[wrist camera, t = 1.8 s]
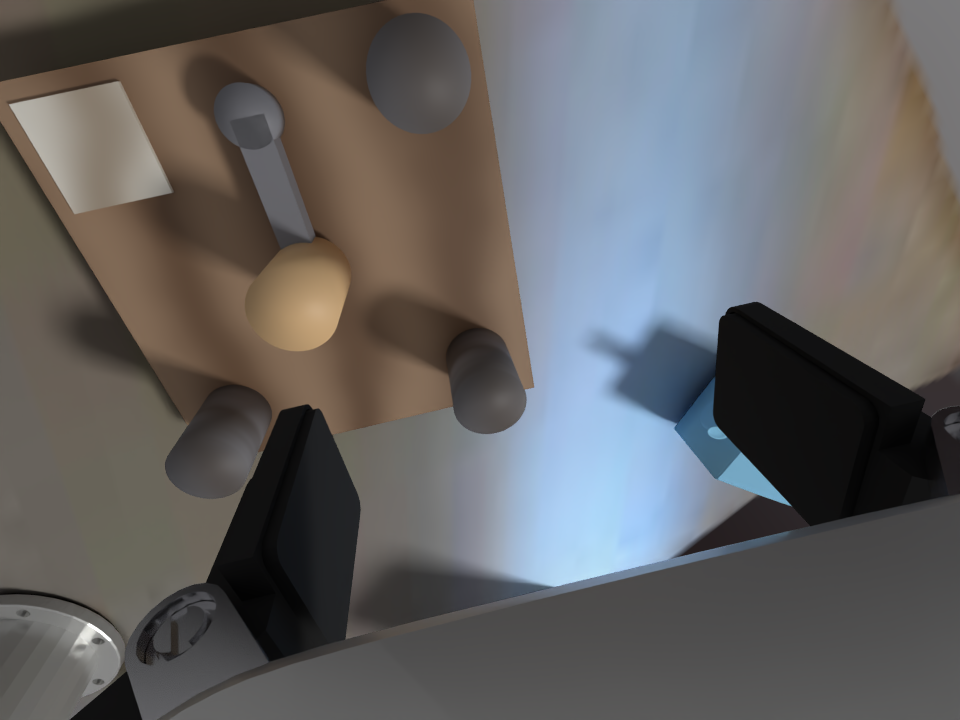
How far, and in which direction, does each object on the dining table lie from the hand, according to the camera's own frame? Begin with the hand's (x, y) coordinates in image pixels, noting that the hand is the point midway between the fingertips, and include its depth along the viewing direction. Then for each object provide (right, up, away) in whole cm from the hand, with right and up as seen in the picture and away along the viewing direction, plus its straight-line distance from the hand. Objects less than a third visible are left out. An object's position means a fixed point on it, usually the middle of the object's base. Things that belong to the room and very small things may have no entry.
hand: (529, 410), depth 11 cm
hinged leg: (-10, +8, +11) cm, 17 cm away
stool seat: (-10, +7, +16) cm, 20 cm away
